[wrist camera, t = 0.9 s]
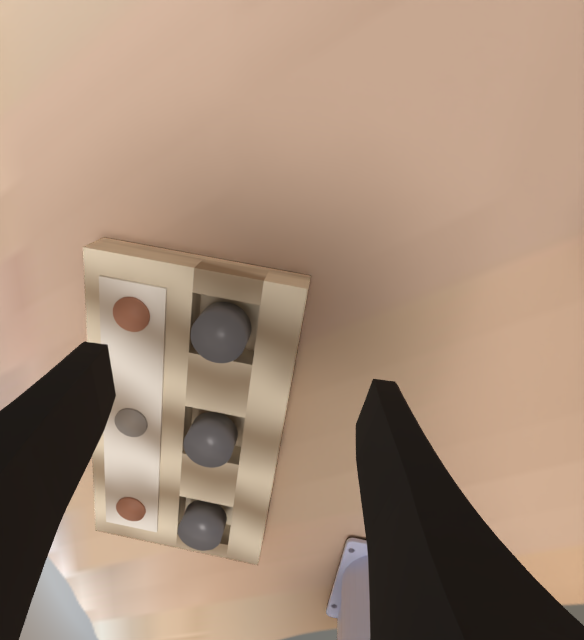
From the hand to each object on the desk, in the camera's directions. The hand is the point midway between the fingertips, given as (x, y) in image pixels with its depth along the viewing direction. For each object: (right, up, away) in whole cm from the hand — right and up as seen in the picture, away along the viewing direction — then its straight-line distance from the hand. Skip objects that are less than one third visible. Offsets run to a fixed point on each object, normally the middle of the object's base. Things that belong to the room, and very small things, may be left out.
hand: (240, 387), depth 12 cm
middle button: (-4, -6, +18) cm, 19 cm away
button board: (-6, -5, +20) cm, 21 cm away
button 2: (-5, -13, +21) cm, 25 cm away
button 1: (-3, +1, +14) cm, 15 cm away
